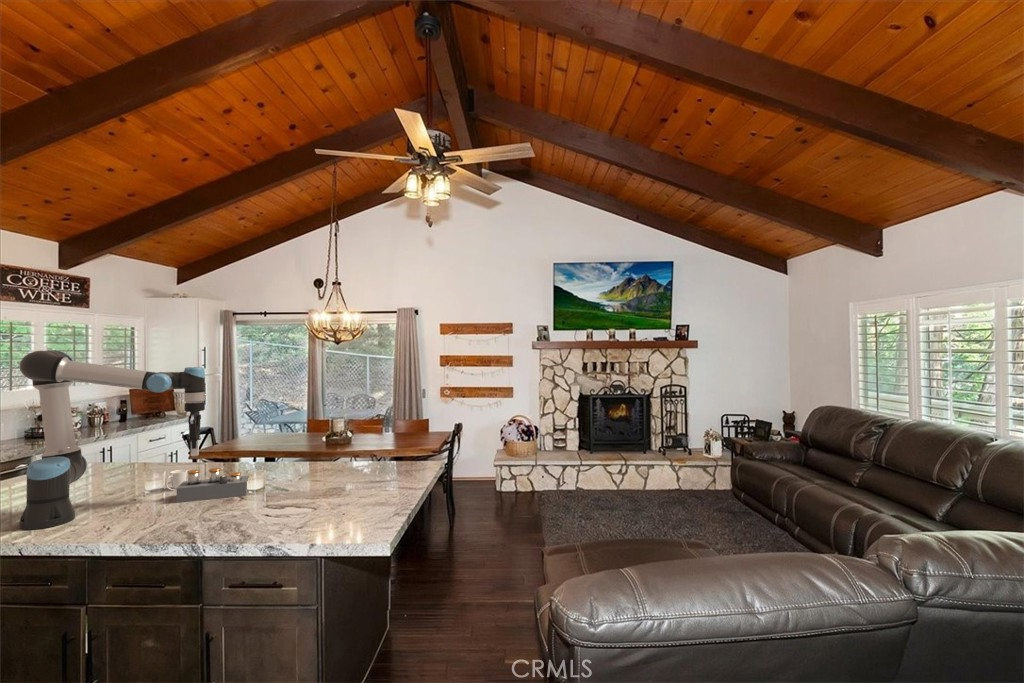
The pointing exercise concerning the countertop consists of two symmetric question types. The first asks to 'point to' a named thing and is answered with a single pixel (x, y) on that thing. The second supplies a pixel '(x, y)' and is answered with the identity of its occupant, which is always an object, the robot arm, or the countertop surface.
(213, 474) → the knob mid
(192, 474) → the knob near
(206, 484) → the panel
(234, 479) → the knob far
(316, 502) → the countertop surface
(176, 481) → the cup
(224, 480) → the dial
